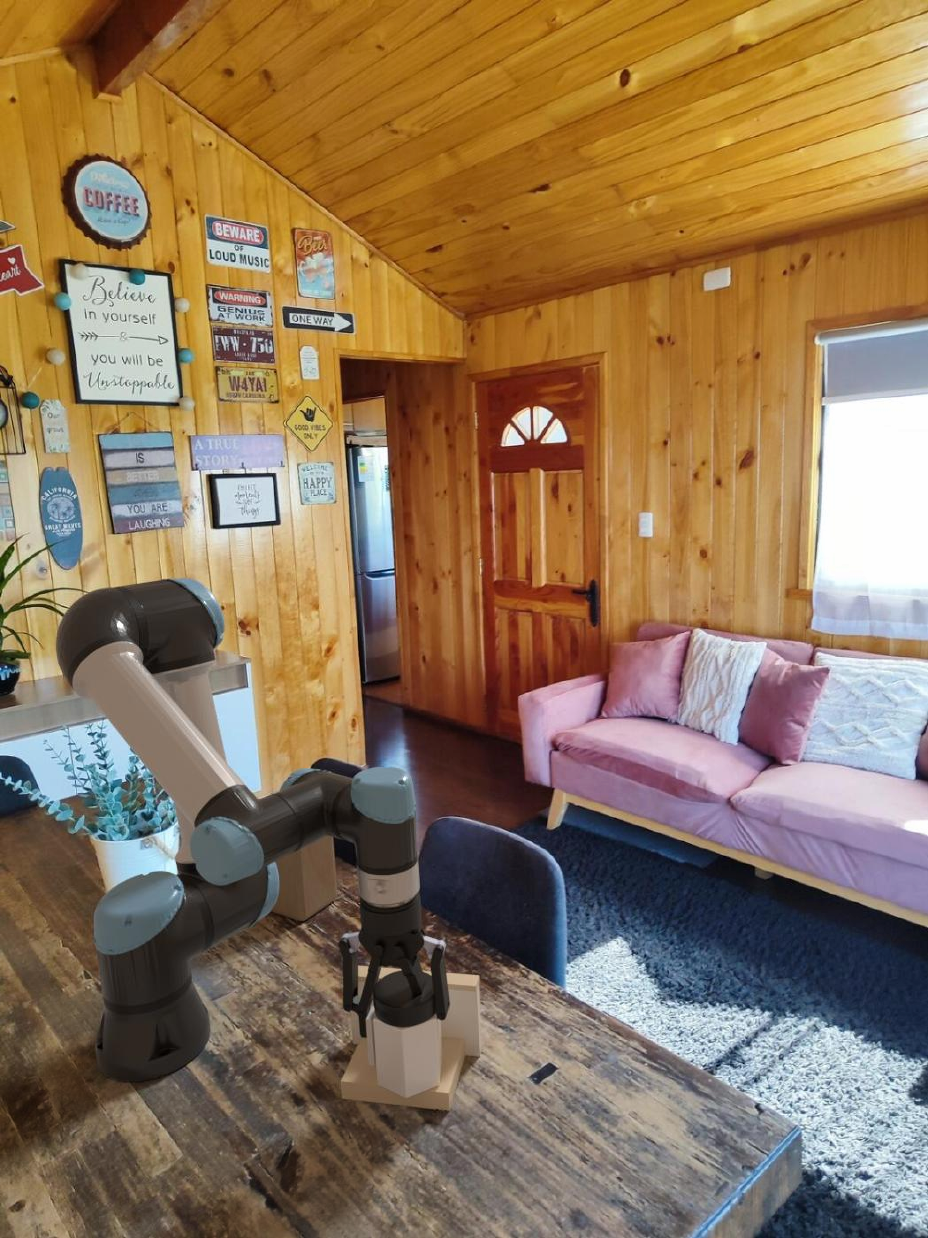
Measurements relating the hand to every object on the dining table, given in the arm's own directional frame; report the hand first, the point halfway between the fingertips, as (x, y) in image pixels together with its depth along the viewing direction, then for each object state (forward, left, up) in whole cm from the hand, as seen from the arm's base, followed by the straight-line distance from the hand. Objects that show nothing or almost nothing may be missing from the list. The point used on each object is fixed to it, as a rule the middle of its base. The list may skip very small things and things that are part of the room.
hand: (399, 1060), depth 105 cm
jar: (+2, 0, -2) cm, 2 cm away
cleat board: (0, +3, -4) cm, 5 cm away
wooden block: (-31, +42, -4) cm, 52 cm away
